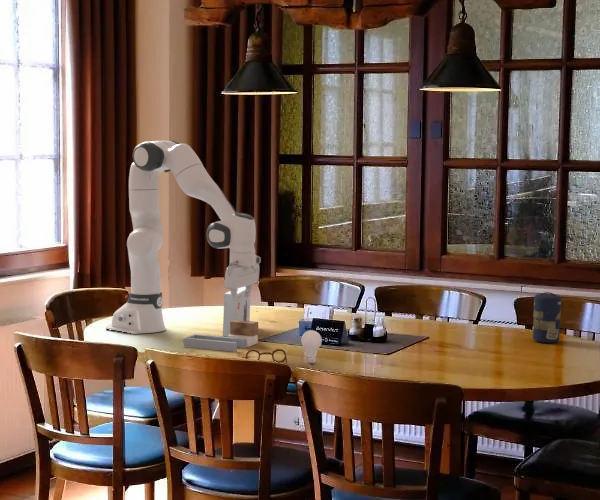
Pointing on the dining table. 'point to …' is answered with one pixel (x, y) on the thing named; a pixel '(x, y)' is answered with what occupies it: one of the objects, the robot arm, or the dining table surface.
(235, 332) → the walnut blank
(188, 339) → the grey rectangular tray
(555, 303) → the canister
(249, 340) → the ceramic pedestal
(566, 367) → the dining table surface
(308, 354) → the light bulb
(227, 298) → the skincare box
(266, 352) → the glasses
